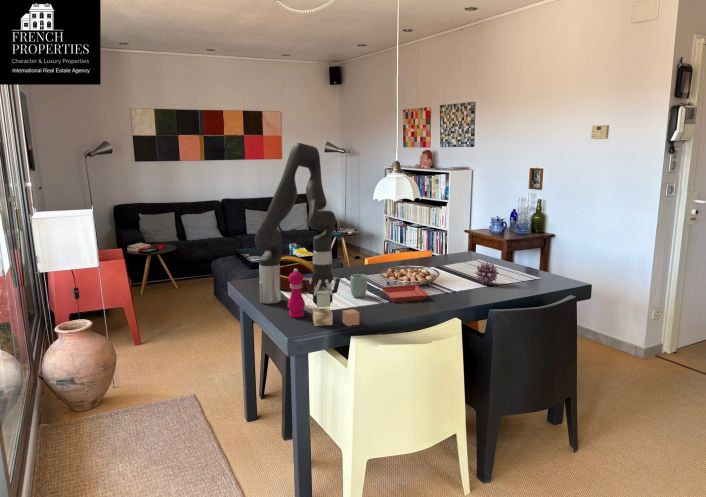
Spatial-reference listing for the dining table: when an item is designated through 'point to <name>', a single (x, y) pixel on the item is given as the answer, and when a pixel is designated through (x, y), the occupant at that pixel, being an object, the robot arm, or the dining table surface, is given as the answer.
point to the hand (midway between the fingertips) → (322, 303)
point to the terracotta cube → (350, 317)
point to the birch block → (322, 317)
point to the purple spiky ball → (486, 273)
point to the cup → (358, 285)
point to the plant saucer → (405, 293)
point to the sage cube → (323, 299)
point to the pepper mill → (296, 295)
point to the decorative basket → (303, 268)
